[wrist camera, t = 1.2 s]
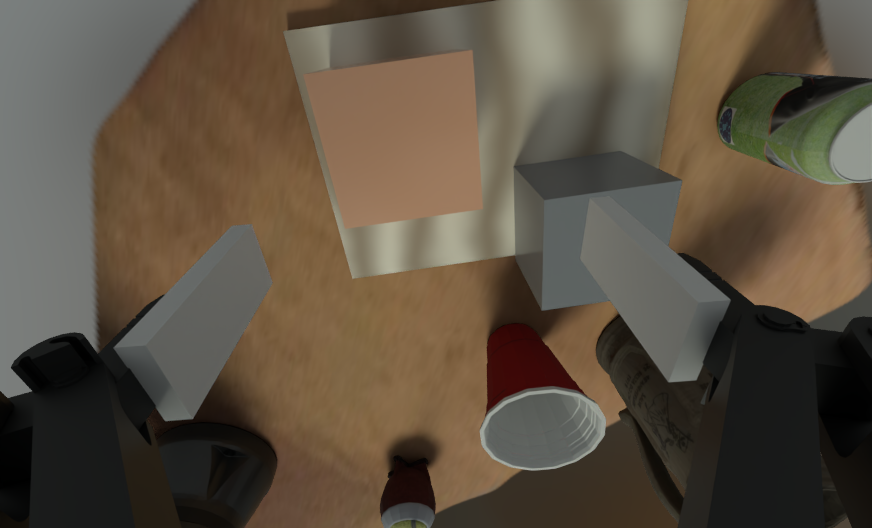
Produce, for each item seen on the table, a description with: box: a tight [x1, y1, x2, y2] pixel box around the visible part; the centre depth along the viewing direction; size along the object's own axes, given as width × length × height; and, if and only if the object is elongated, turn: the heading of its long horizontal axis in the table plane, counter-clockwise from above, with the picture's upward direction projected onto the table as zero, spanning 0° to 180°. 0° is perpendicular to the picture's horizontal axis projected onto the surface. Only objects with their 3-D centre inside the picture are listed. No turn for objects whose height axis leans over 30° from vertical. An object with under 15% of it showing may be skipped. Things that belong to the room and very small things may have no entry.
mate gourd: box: [380, 455, 436, 528], centre depth 46 cm, size 8×8×15 cm
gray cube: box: [513, 151, 682, 311], centre depth 30 cm, size 9×9×8 cm
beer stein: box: [596, 316, 847, 528], centre depth 37 cm, size 15×11×20 cm
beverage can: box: [717, 72, 872, 185], centre depth 26 cm, size 6×7×12 cm
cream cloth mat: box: [283, 0, 688, 278], centre depth 31 cm, size 28×20×1 cm
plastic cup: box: [480, 323, 606, 470], centre depth 37 cm, size 11×11×12 cm
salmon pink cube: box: [303, 49, 483, 229], centre depth 25 cm, size 9×9×8 cm
